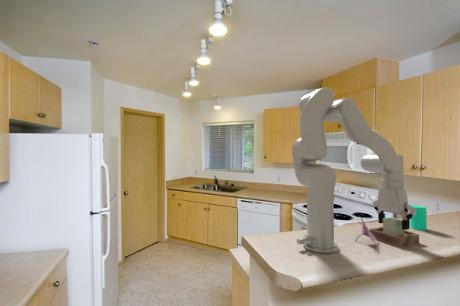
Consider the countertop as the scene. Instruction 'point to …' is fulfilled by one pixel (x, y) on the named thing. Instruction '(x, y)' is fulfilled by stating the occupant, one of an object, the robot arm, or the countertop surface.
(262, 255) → the countertop surface
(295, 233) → the countertop surface
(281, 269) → the countertop surface
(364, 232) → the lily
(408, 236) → the base block
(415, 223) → the candle
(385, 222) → the sage block
